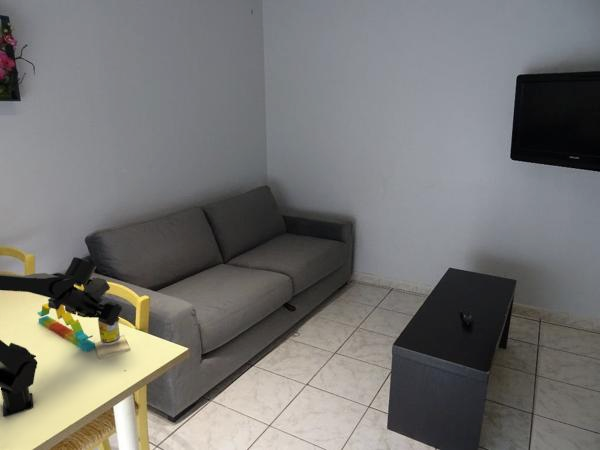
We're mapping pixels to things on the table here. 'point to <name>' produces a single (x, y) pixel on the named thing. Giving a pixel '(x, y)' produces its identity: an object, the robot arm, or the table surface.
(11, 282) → the robot arm
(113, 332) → the supplement bottle
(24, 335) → the table surface
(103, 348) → the wooden pad
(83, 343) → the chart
